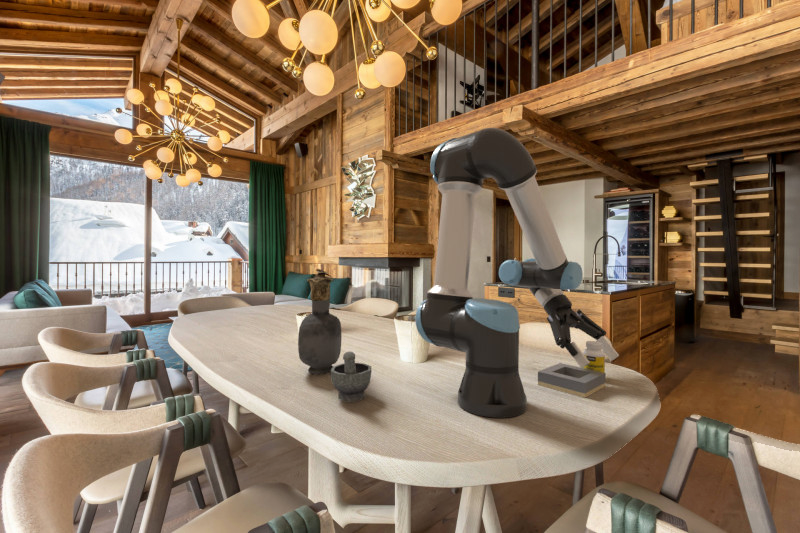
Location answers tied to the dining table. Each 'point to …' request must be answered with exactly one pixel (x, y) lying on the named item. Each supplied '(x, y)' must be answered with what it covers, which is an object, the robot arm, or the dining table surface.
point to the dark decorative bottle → (320, 329)
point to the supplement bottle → (595, 356)
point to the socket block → (572, 379)
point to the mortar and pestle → (351, 378)
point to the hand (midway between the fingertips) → (600, 361)
